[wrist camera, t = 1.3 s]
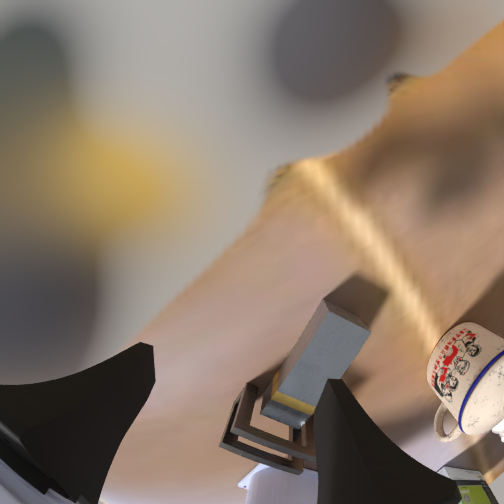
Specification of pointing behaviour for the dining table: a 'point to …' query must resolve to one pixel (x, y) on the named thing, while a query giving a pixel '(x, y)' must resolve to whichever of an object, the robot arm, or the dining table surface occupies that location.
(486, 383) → the teacup with lid
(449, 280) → the dining table surface
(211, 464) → the dining table surface
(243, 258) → the dining table surface
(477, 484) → the tea box
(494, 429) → the skull bowl
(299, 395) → the grey rectangular block
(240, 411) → the collar frame
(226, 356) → the dining table surface
